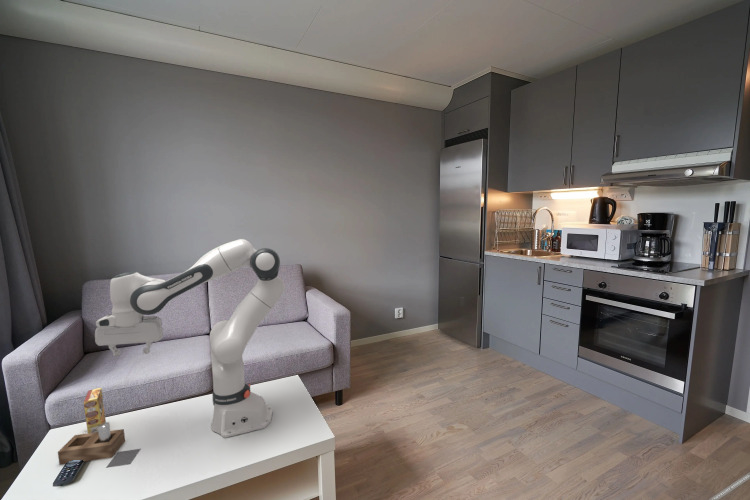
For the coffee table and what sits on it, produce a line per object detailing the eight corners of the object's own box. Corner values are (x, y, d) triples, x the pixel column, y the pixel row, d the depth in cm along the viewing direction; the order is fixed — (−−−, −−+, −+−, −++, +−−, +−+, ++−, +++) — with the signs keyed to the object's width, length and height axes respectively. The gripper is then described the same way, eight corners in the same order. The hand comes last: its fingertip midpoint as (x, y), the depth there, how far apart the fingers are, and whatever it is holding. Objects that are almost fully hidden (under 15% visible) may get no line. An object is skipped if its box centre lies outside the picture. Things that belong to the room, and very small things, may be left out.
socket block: (125, 441, 116) (123, 429, 115) (112, 458, 108) (110, 444, 108) (76, 448, 113) (74, 435, 112) (59, 465, 105) (57, 451, 104)
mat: (141, 449, 112) (140, 448, 112) (130, 465, 105) (130, 464, 105) (118, 452, 111) (118, 451, 111) (105, 468, 104) (105, 467, 104)
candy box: (103, 436, 119) (98, 398, 117) (87, 441, 116) (83, 401, 114) (106, 423, 126) (102, 386, 124) (92, 427, 124) (87, 390, 122)
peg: (114, 448, 113) (111, 421, 112) (109, 454, 110) (106, 427, 109) (104, 449, 112) (101, 422, 111) (99, 455, 110) (95, 428, 108)
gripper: (164, 312, 120) (167, 348, 122) (101, 316, 116) (105, 353, 118) (157, 318, 114) (160, 355, 116) (90, 322, 110) (94, 360, 111)
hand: (132, 354), depth 117 cm, fingers open, 8 cm apart
